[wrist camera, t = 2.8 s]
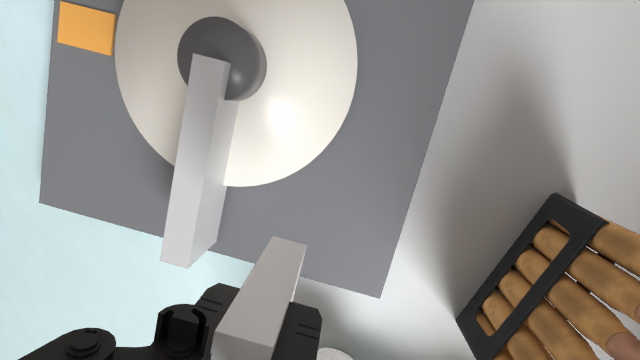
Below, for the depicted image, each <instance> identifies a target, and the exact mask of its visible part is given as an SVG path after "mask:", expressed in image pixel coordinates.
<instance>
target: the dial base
mask: <svg viewBox="0 0 640 360" xmlns="http://www.w3.org/2000/svg"><path fill="white" fill-rule="evenodd" d="M344 2H345V4H346V6H347V8H348V11H349V15H350V18H351V21H352V24H353V28H354V33H355V38H356V44H357V61H358V64H357V79H356V85H355V90H354V95H353V99H352V102H351V105H350V108H349V111H348V113H347V115H346V117H345V119H344V121H343V123H342V126H341V127H340V129H339V130H338V132H337V133H336V135H335V136H334V138H333V139H332V140H331V142H330V143H329V144H328V145H327V146H326V148H325V149H324V150H323V151H322V152H321V153H320V154H319V155H318V156H317V157H316V158H314V159H313V160H312V161H311V162H310V163H309V164H307V165H306V166H304V167H303V168H301V169H300V170H298V171H297V172H295V173H293V174H291V175H289V176H287V177H285V178H283V179H280V180H277V181H274V182H271V183H267V184H262V185H257V186H245V187H235V186H227V190H226V195H225V200H224V205H223V210H222V215H221V220H220V225H219V230H218V235H217V241H216V242H215V243H214V244H213V245H212V246H211V247H210V248H209V249H208V250H209V251H212V252H216V253H219V254H223V255H227V256H230V257H234V258H237V259H241V260H244V261H248V262H251V263H255V264H256V263H257V261H258V260H259V258H260V256H261V255H262V253H263V251H264V250H265V248H266V246H267V245H268V243H269V242H270V240H271V238H272V237H273V236H275V237H279V238H282V239H286V240H290V241H294V242H297V243H301V244H305V245H307V247H306V251H305V255H304V259H303V263H302V267H301V271H300V275H299V276H301V277H305V278H308V279H312V280H315V281H319V282H322V283H326V284H330V285H333V286H337V287H340V288H344V289H347V290H351V291H354V292H358V293H362V294H365V295H369V296H372V297H376V298H379V299H380V297H381V293H382V290H383V287H384V284H385V281H386V278H387V274H388V271H389V268H390V265H391V262H392V259H393V255H394V252H395V249H396V246H397V243H398V240H399V236H400V233H401V230H402V227H403V224H404V221H405V217H406V214H407V211H408V208H409V205H410V202H411V198H412V195H413V192H414V189H415V186H416V183H417V179H418V176H419V173H420V170H421V167H422V164H423V161H424V157H425V154H426V151H427V148H428V145H429V142H430V138H431V135H432V132H433V129H434V126H435V123H436V119H437V116H438V113H439V110H440V107H441V104H442V100H443V97H444V94H445V91H446V88H447V85H448V81H449V78H450V75H451V72H452V69H453V66H454V62H455V59H456V56H457V53H458V50H459V47H460V43H461V40H462V37H463V34H464V31H465V28H466V24H467V21H468V18H469V15H470V12H471V9H472V5H473V2H474V0H344ZM123 3H124V0H55V3H54V16H53V29H52V42H51V55H50V68H49V81H48V94H47V107H46V120H45V133H44V146H43V159H42V172H41V185H40V198H39V203H42V204H45V205H49V206H52V207H56V208H60V209H63V210H67V211H70V212H74V213H77V214H81V215H84V216H88V217H92V218H95V219H99V220H102V221H106V222H109V223H113V224H116V225H120V226H124V227H127V228H131V229H134V230H138V231H141V232H145V233H148V234H152V235H156V236H159V237H163V238H164V231H165V225H166V219H167V213H168V206H169V200H170V194H171V188H172V182H173V175H174V169H175V166H174V165H172V164H171V163H169V162H168V161H167V160H166V159H164V158H163V157H162V156H161V155H160V154H158V153H157V152H156V151H155V149H154V148H153V147H152V146H151V145H150V144H149V143H148V142H147V141H146V139H145V138H144V137H143V135H142V134H141V133H140V131H139V130H138V129H137V127H136V125H135V123H134V122H133V120H132V118H131V117H130V115H129V112H128V110H127V108H126V105H125V103H124V101H123V98H122V94H121V91H120V88H119V84H118V79H117V73H116V67H115V35H116V30H117V24H118V19H119V15H120V12H121V9H122V6H123Z"/></svg>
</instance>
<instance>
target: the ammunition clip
mask: <svg viewBox="0 0 640 360" xmlns="http://www.w3.org/2000/svg"><path fill="white" fill-rule="evenodd" d="M586 246H588V247H589V248H591V249H593V250H594V251H596V252H598V254H596V253H594V252H593V251H591V250H590V249H588V248H586ZM551 261H552V262H551ZM615 263H616V264H618V265H620V266H621V267H623V268H625V269H626V270H628V271H630V272H631V273H633V274H635V275H637V276H638V277H640V235H639V234H637V233H635V232H632V231H630V230H628V229H626V228H624V227H622V226H619V225H617V224H615V223H613V222H611V221H609V220H606V219H604V218H602V217H600V216H598V215H596V214H593V213H592V212H590V211H588V210H586V209H584V208H582V207H581V206H579V205H577V204H575V203H573V202H572V201H570V200H568V199H566V198H564V197H562V196H561V195H559V194H557V193H554V194H551V195H550V197H549V198H548V199H547V201H546V202H545V203H544V205H543V206H542V207H541V208H540V210H539V211H538V212H537V214H536V215H535V216H534V218H533V219H532V220H531V222H530V223H529V224H528V226H527V227H526V228H525V229H524V231H523V232H522V233H521V235H520V236H519V237H518V239H517V240H516V241H515V243H514V244H513V245H512V247H511V248H510V249H509V250H508V252H507V253H506V254H505V256H504V257H503V258H502V260H501V261H500V262H499V264H498V265H497V266H496V268H495V269H494V270H493V271H492V273H491V274H490V275H489V277H488V278H487V279H486V281H485V282H484V283H483V285H482V286H481V287H480V289H479V290H478V291H477V292H476V294H475V295H474V296H473V298H472V299H471V300H470V302H469V303H468V304H467V306H466V307H465V308H464V310H463V311H462V312H461V313H460V315H459V316H458V317H457V319H456V323H457V325H458V326H459V328H460V330H461V332H462V334H463V336H464V338H465V340H466V341H467V343H468V345H469V347H470V349H471V351H472V353H473V355H474V356H475V358H476V360H554V359H555V360H599V359H598V357H597V356H596V355H595V353H594V351H593V350H592V348H591V346H590V345H589V343H588V342H587V341H586V340H585V339H584V338H583V337H582V336H581V335H580V334H579V333H578V332H577V331H576V330H575V328H576V329H577V330H578V331H579V332H580V333H582V334H583V335H584V336H585V337H586V338H588V339H589V340H591V341H592V342H594V343H595V344H597V345H598V346H600V347H601V348H602V349H603V350H604V351H605V352H606V353H607V354H609V355H610V356H611V357H613V358H614V359H615V360H640V341H639V340H638V339H637V338H636V337H635V336H634V335H633V334H632V333H631V332H630V331H629V330H628V329H627V328H625V327H624V326H623V324H622V323H621V322H620V320H619V319H618V318H617V317H616V315H615V314H614V313H613V312H612V311H610V310H609V309H608V308H607V307H606V306H604V305H603V304H602V303H601V302H600V301H598V300H597V299H596V298H595V297H593V296H592V295H591V294H590V292H592V293H593V294H595V295H596V296H597V297H598V298H600V299H601V300H602V301H604V302H605V303H606V304H607V305H609V306H610V307H612V308H613V309H615V310H617V311H619V312H621V313H623V314H626V315H627V316H629V317H630V318H632V319H633V320H634V321H636V322H637V323H639V324H640V282H639V281H638V280H637V279H636V278H634V277H633V276H631V275H630V274H628V273H626V272H625V271H623V270H622V269H620V268H618V267H617V266H615V265H614V264H615ZM565 272H566V273H568V274H569V275H570V276H572V277H573V278H574V279H575V280H577V282H575V281H574V280H573V279H571V278H570V277H569V276H568V275H567V274H565ZM549 302H550V303H551V304H552V305H553V306H554V307H555V308H554V307H553V306H552V305H551V304H550V303H549ZM567 320H568V321H569V322H570V323H571V324H572V325H573V326H574V327H575V328H574V327H573V326H572V325H571V324H570V323H569V322H568V321H567ZM533 332H534V333H533ZM544 346H545V347H544ZM546 349H547V350H548V351H549V352H548V351H547V350H546ZM549 353H550V354H551V355H552V356H553V358H554V359H553V358H552V356H551V355H550V354H549Z"/></svg>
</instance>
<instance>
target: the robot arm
mask: <svg viewBox="0 0 640 360" xmlns="http://www.w3.org/2000/svg"><path fill="white" fill-rule="evenodd" d="M306 247H307V245H305V244H301V243H297V242H294V241H290V240H286V239H282V238H279V237H275V236H273V237H272V238H271V240H270V242H269V243H268V245H267V246H266V248H265V250H264V251H263V253H262V255H261V256H260V258H259V260H258V261H257V263H256V264H255V266H254V268H253V269H252V271H251V273H250V274H249V276H248V277H247V279H246V281H245V282H244V284H243V286H242V287H241V289H239V288H236V287H232V286H229V285H225V284H221V283H218V284H216V285H214V286H212V287H210V288H208V289H207V290H206V291H205V292H204V294H203V295H202V296H201V297H200V299H199V300H198V301H197V302H196V304H195V305H190V304H177V305H173V306H170V307H166V308H165V309H163V310H162V311H160V312H159V313H158V319H157V325H156V331H155V337H154V342H153V343H152V344H151V345H150V346H146V347H116V341H115V337H114V336H113V335H112V334H111V333H110V332H109V331H106V330H103V329H100V328H83V329H78V330H74V331H71V332H69V333H66V334H64V335H62V336H60V337H58V338H56V339H55V340H53V341H51V342H49V343H47V344H46V345H44V346H42V347H40V348H38V349H37V350H35V351H33V352H31V353H29V354H27V355H26V356H24V357H22V358H20V359H18V360H316V359H317V352H318V345H319V338H320V331H321V325H322V318H321V315H320V313H319V311H318V309H316V308H312V307H309V306H305V305H301V304H298V303H294V302H293V298H294V294H295V290H296V286H297V282H298V278H299V275H300V271H301V267H302V263H303V259H304V255H305V251H306Z"/></svg>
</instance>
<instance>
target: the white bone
mask: <svg viewBox="0 0 640 360" xmlns="http://www.w3.org/2000/svg"><path fill="white" fill-rule="evenodd" d="M316 360H353V359H352V358H351V357H350V356H349V355H347V354H346V353H344V352H342V351H340V350H337V349H334V348H328V347H325V348H321V349H319V350H318V352H317V359H316Z"/></svg>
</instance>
